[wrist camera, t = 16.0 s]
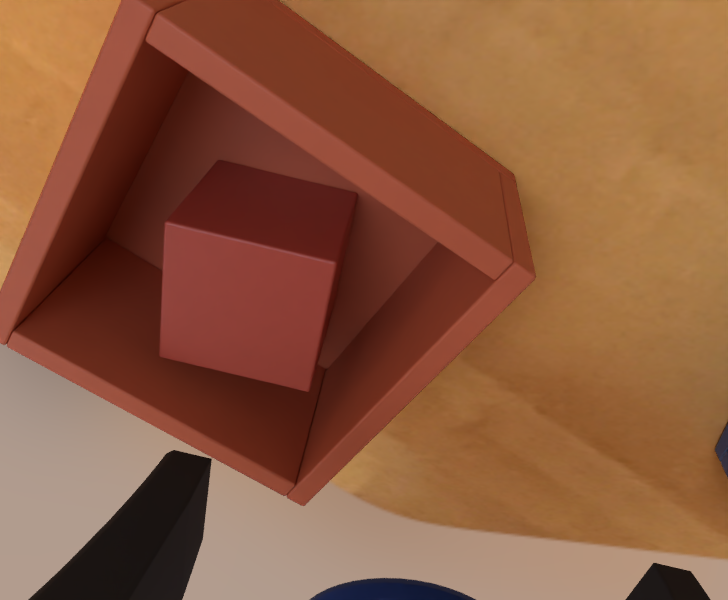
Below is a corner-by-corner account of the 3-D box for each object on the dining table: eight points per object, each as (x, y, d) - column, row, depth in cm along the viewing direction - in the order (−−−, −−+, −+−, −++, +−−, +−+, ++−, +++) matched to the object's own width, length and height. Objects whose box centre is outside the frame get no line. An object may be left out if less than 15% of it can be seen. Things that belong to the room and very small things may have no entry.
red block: (358, 192, 18) (337, 262, 15) (333, 309, 20) (309, 393, 17) (217, 158, 18) (162, 221, 14) (207, 278, 20) (158, 357, 17)
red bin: (515, 174, 18) (538, 278, 13) (334, 377, 22) (303, 508, 18) (222, -42, 16) (124, -11, 11) (90, 230, 20) (-19, 334, 16)
